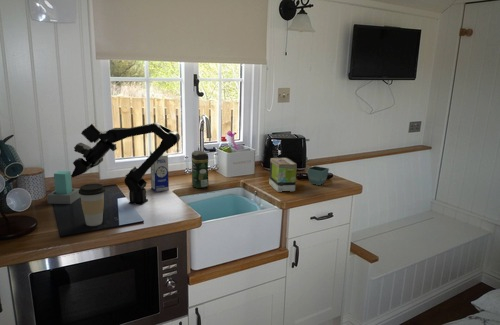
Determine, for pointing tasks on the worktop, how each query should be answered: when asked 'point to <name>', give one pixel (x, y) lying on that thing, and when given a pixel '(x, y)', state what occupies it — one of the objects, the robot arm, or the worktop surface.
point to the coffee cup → (92, 203)
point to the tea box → (282, 174)
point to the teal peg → (63, 182)
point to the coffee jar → (199, 169)
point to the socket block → (63, 197)
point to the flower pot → (317, 175)
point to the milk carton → (160, 173)
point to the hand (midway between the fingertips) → (76, 173)
